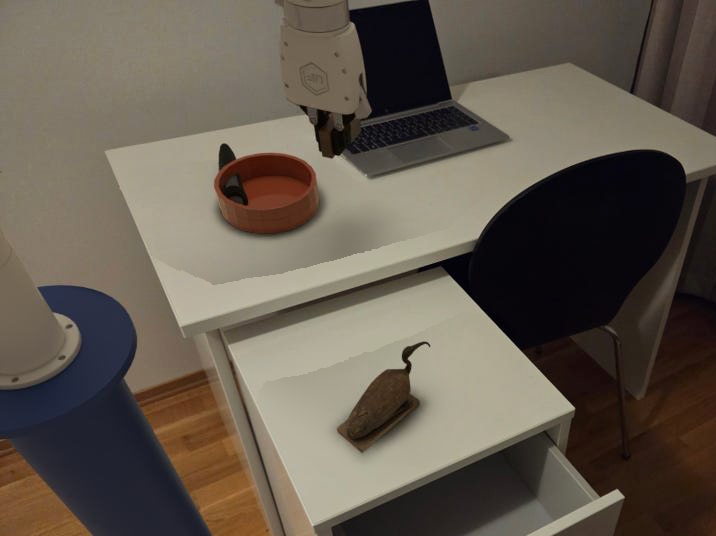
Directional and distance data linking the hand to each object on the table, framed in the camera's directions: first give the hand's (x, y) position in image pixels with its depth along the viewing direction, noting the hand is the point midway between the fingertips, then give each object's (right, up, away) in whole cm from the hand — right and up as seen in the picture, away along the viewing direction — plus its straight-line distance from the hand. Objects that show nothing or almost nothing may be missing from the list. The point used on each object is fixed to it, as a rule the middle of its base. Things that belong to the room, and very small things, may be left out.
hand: (333, 148), depth 90 cm
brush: (+1, +2, +2) cm, 3 cm away
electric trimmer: (-21, -1, +16) cm, 26 cm away
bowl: (-13, -5, +13) cm, 19 cm away
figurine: (+10, -36, -11) cm, 39 cm away
